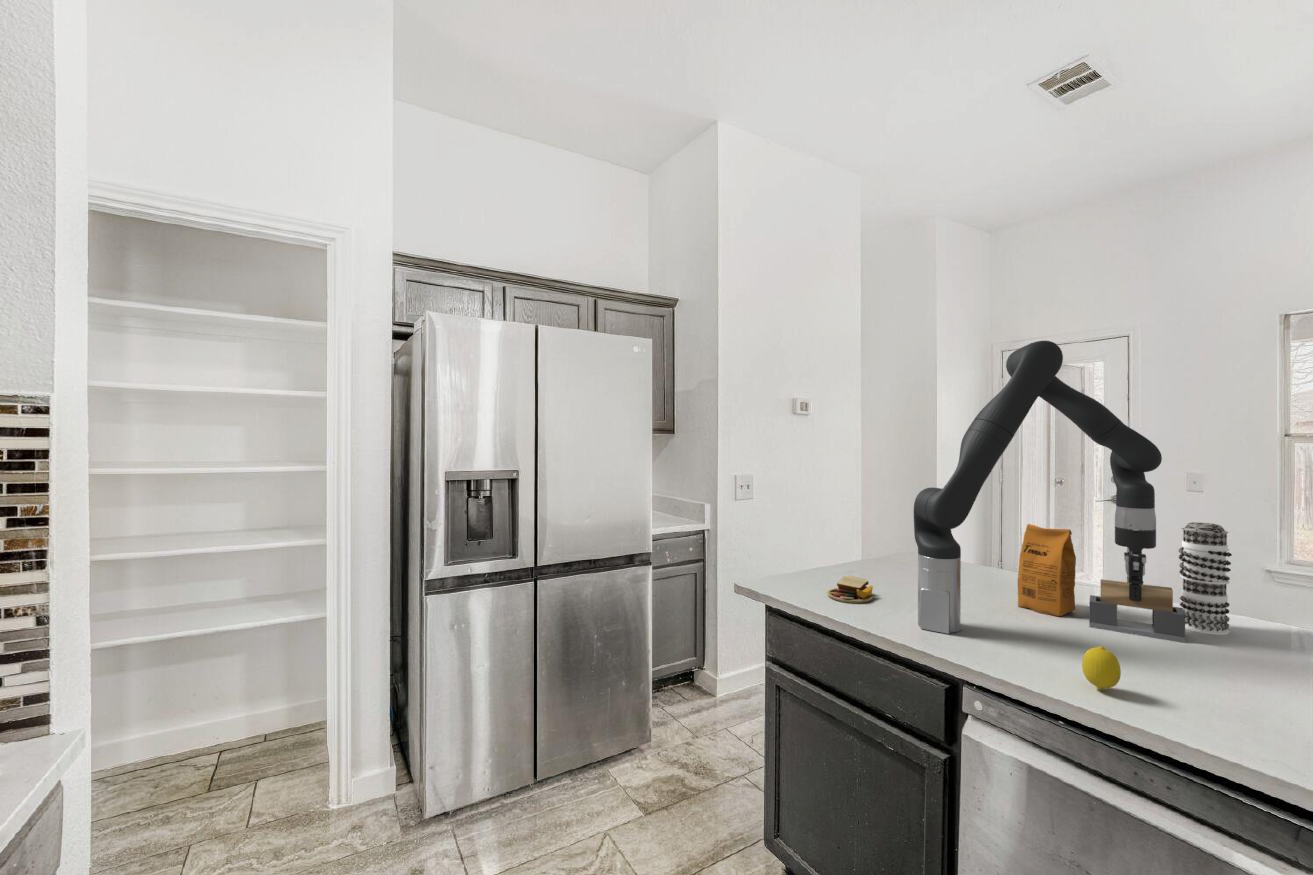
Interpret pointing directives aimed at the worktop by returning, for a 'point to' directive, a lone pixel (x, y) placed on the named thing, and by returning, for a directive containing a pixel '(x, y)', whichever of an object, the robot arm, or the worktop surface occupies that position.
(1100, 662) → the lemon
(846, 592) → the toy sandwich meal
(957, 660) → the worktop surface
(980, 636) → the worktop surface
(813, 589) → the worktop surface
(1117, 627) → the rail
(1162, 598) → the slat
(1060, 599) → the coffee package
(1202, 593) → the decorative candle
